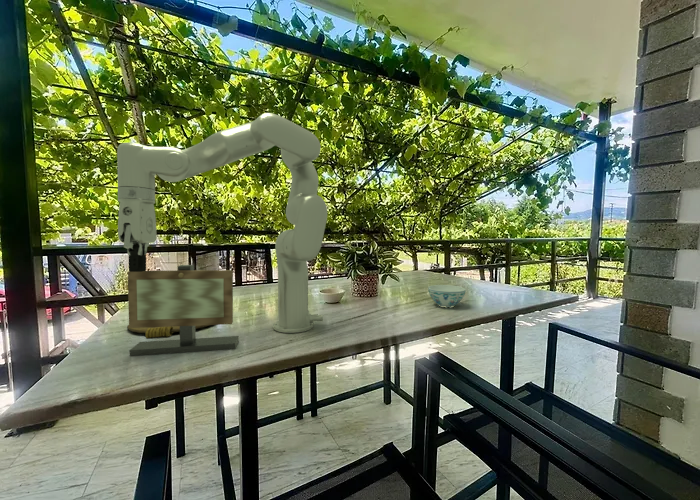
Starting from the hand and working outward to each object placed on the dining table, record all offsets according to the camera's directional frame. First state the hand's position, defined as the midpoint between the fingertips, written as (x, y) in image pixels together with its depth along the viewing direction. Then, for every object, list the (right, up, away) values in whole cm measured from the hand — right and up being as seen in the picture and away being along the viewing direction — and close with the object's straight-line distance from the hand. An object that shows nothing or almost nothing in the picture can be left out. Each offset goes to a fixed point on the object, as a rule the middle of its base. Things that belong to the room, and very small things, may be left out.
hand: (137, 271), depth 78 cm
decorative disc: (-5, -20, +28) cm, 35 cm away
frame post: (+9, -21, +6) cm, 24 cm away
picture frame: (+10, -14, +3) cm, 17 cm away
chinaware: (+92, -18, +53) cm, 108 cm away
